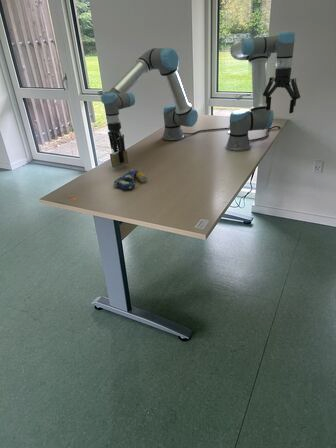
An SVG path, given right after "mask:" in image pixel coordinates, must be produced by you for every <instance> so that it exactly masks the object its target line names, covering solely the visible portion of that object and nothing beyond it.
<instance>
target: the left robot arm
mask: <svg viewBox="0 0 336 448" xmlns="http://www.w3.org/2000/svg"><path fill="white" fill-rule="evenodd" d="M179 65H180V56H179V54H178V52H177V50H176V49H174V48H171V47H164V48H163V47H159V48H158V47H157V48H156V47H153V48H150V49H148V50H147V51H145V52H144V53H143V54H141V55H140V56H139V57H138V58H137V59H136V61H135V64H134V65H133V66H132V67H131V68H130V69H129V70H128V71H127V72H126V73H125V75H123V76H122V77H121V78H120V80H119V81H117V83H115V84H114V86H113V87H112V88H111V89H109V91H104V92H102V93H101V96H100V101H101V103H102V104H103V106H104V112H105V120H106V123H107V124H106V125H107V129H108V132H107V135H108V140H109V145H110V148H111V150H113V153H114V152H117V151H119V152H118V154H119V160H120V163H122V162H124V155H123V151H125V150H126V145H125V134H122V133H121V129H122V123H121V117H120V116H121V115H120V110H123V109H126V108H131V107H132V106H134V105H135V104H136V98H135V95H134V94H133V93H132V92H129V90H130V89H131V88H132V87H133V86H134V85H135V84H136V83H137V82H138V81H139V80H140V79H141V78H142V76H144V75H145V74H149V72H150V71H152V70H158V72H159V74H160V76H161V77H164V80H165V83H166V85H167V88H168V90H169V93H170V96H171V98H172V102H173V103H174V104H171V105H166V106H165V107H163V113H162V114H163V123H164V130H163V135H162V139H163V140H164V141H167V142H176V141H180V140H182V139H184V137H185V136H184V135H196V134H198V133H200V132H208V131H209V132H210V131H219V130H220V131H221V130H230V127H220V128H219V127H218V128H209V129H200V130H196V131H194V132H183V129H182V127H186V128H188V127H189V128H192V127H194V126H195V125H196V124H197V122H198V119H199V113H198V111H197V109H194V108H193V106H192V103H190V102H188V99H187V96H186V93H185V91H184V87H183V84H182V82H181V78H180V76H179V73H178V70H179Z"/></svg>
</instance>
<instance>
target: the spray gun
mask: <svg viewBox="0 0 336 448" xmlns="http://www.w3.org/2000/svg"><path fill="white" fill-rule="evenodd" d="M135 179H137V180H138V181H140V183H146V182H147V180H148V176H147V175H146V174H144V173H143V172H140V171H139V170H138V169H136V168H135V169H128V170H127V171H126V172H124V173H123V174H122V175H120V176H119V177H118V178H117V179H116V180H114V181H113V185H112V186H113V187H115V188H120V189H122V190H124V191H126V190H132V189H134V188H135V187H136V184H137V183H136V182H135Z"/></svg>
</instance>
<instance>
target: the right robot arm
mask: <svg viewBox="0 0 336 448" xmlns="http://www.w3.org/2000/svg"><path fill="white" fill-rule="evenodd" d="M295 37H296V33H295V31H294V30H292V31H291V30H287V31H280V32H279V33H278V34H277V35H273V36H261V37H248V38H242V39H239V40H236V41H234V42H233V43H232V44H231V46H230V49H229V50H230V51H229V52H230V55H231V57H232V58H233V59H234V60H238V61H248V65H249V66H250V68H251V90H252V107H251V108H250V110H249V109H247V108H242V109H237V110H234V111H233V112H231V113H230V114H229V128H230V129H229V131H230V134H229V136H228V139H227V143H226V149H227V150H229V151H232V152H243V151H247V150H249V149H251V142H253V141H258V140H263V139H266V138H268V136H269V131H270V130H272V129H275V128H278V129H281V127H280V125H275V126H274V125H273V122H274V115H275V113H274V110H273V109H271V108H272V107H271V106H272V94H273V93H274V92H275V91H276V90H277V89H278V88H282V89H285V90H286V92H287V93H288V95H289V96H290V98H291V99H290V102H289V110H288V114H290V115H291V114H294V109H295V107H296V105H297V100H299V99H301V93H300V91H299V90H300V89H299V87H298V84H297V77H293V78H291V76H292V66H293V56H294V47H295V40H296V38H295ZM271 54H276V58H275V60H276V61H275V67H276V68H275V72H274V76H271V77H269V79H268V83H267V67H266V65H267V62H268V61H269V58H270V57H271V56H272V55H271ZM272 125H273V126H272ZM264 130H266V131H265V132H266V135H264V136H261V137H258V138H252V139H250V138H249V132H251V131H253V132H254V131H264Z"/></svg>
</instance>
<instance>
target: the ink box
mask: <svg viewBox="0 0 336 448" xmlns="http://www.w3.org/2000/svg"><path fill="white" fill-rule="evenodd" d="M118 152H119V150H118V151H117V152H114V151H113V152H112V153H109V157H110V158H109V159H110V163H111V168H114V169H117V168H120V167H123V166H125V165H128V164H129V163H130V161H129V155H128V150H127V149H125V151H123V155H124V162H122V163H120V160H119V154H118Z"/></svg>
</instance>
